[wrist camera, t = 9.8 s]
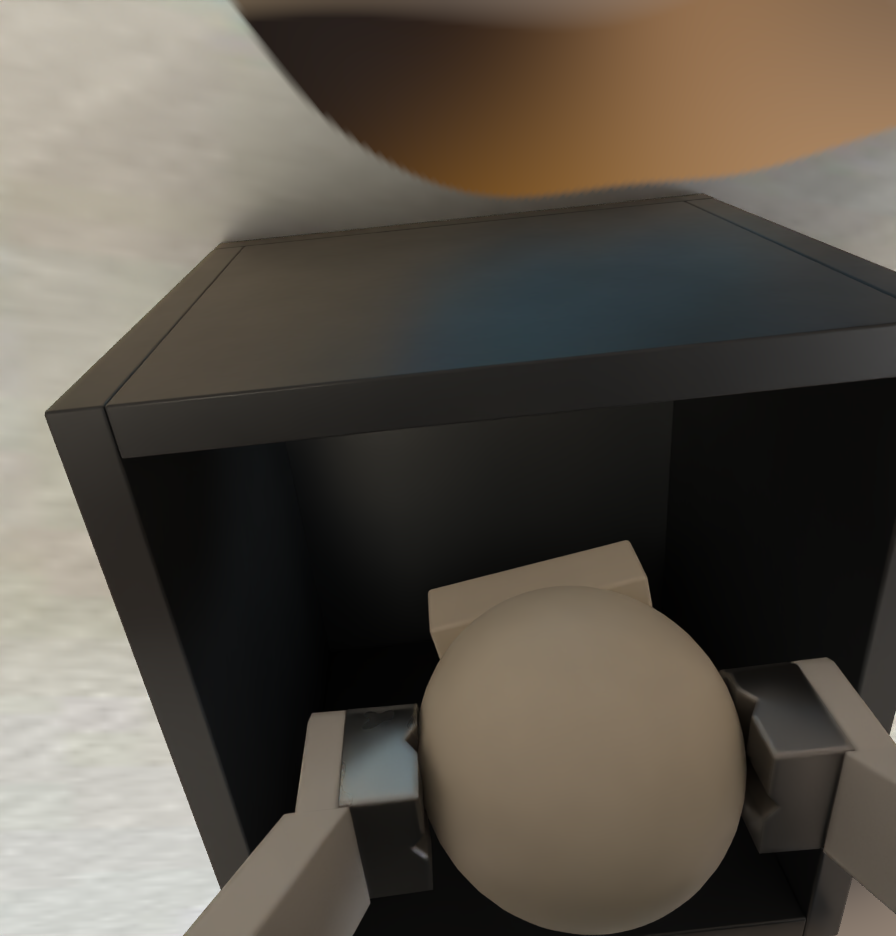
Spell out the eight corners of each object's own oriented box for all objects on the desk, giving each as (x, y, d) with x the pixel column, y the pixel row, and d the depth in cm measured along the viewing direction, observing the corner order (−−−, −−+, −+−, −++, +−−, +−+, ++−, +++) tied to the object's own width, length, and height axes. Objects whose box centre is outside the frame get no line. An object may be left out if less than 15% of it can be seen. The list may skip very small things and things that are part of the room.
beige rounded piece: (437, 510, 11) (456, 747, 7) (718, 544, 12) (878, 780, 8) (395, 726, 13) (392, 1005, 9) (637, 747, 14) (732, 1016, 10)
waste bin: (219, 242, 22) (42, 412, 11) (704, 192, 22) (1002, 312, 11) (312, 655, 29) (261, 1001, 19) (676, 615, 30) (838, 936, 19)
